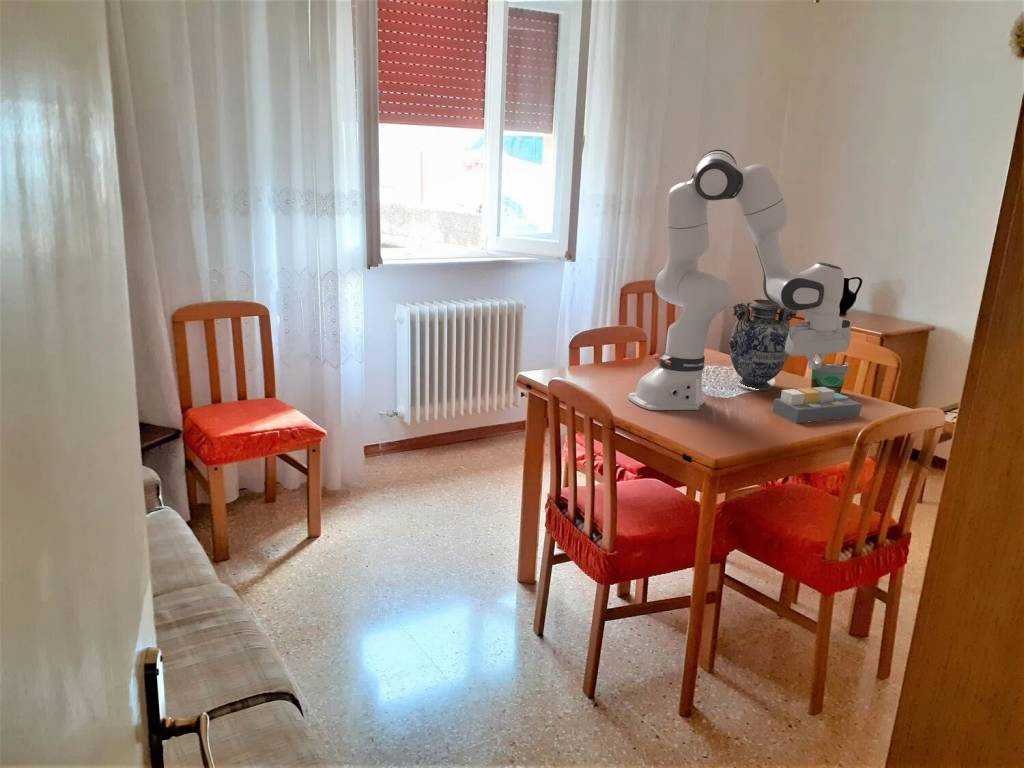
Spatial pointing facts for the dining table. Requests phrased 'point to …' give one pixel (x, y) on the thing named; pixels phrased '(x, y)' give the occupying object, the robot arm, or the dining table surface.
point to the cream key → (792, 397)
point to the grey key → (825, 394)
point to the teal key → (839, 397)
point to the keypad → (817, 410)
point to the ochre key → (810, 395)
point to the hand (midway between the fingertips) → (813, 368)
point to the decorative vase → (759, 342)
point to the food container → (830, 376)
